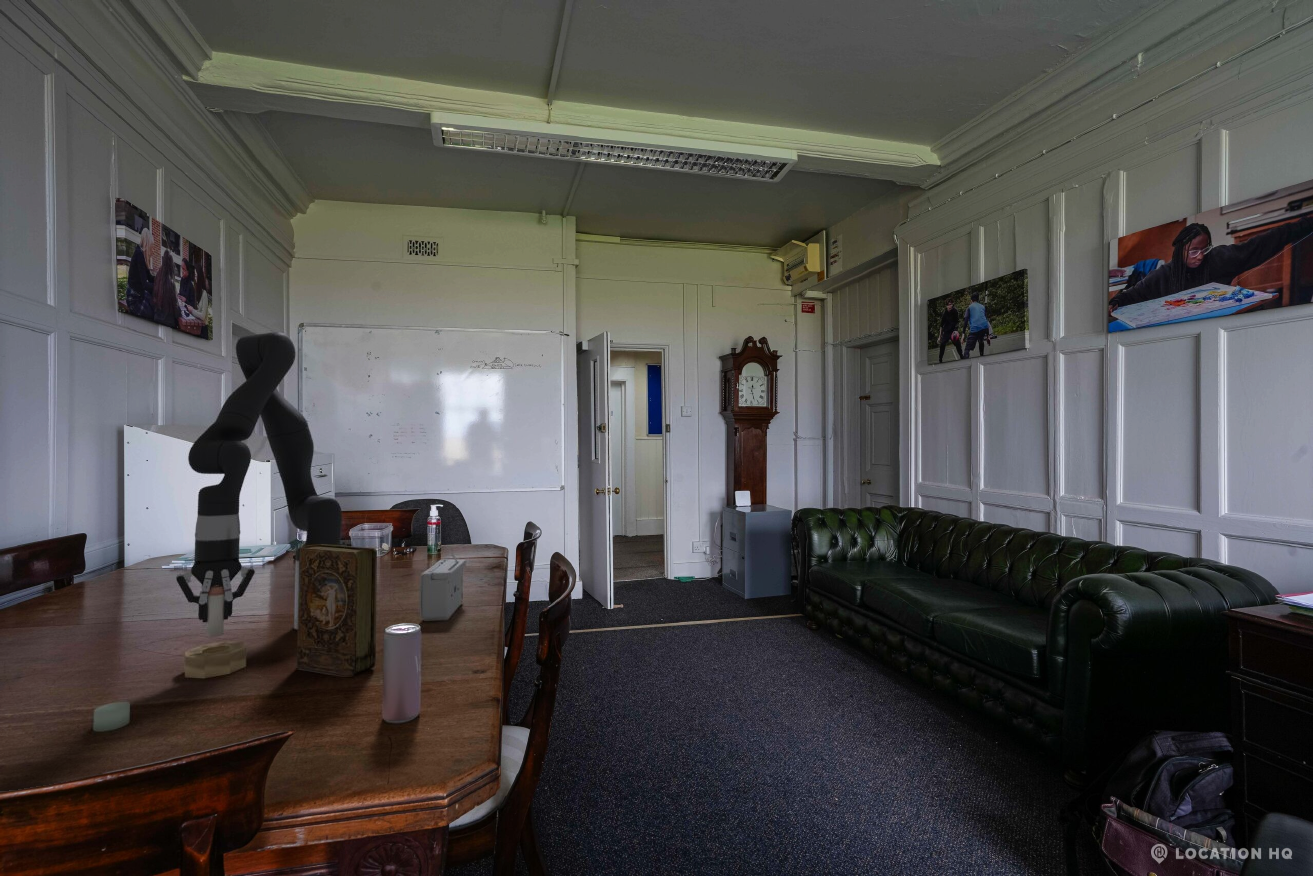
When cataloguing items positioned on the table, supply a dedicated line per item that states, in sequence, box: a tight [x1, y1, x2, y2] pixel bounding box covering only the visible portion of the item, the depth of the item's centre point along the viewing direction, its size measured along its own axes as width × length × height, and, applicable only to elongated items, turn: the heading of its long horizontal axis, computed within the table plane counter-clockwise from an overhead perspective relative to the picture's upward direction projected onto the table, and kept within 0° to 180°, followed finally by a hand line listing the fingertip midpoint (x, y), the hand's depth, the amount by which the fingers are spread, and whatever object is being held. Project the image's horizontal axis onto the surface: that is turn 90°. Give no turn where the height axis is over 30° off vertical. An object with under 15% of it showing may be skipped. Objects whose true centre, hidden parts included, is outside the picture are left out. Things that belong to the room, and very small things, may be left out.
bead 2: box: [184, 641, 247, 679], centre depth 125 cm, size 10×10×4 cm
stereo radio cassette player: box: [419, 545, 467, 622], centre depth 171 cm, size 21×8×20 cm, turn 6°
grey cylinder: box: [205, 585, 225, 638], centre depth 125 cm, size 3×3×10 cm
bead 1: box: [92, 701, 131, 732], centre depth 100 cm, size 4×4×3 cm
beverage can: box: [381, 623, 422, 724], centre depth 104 cm, size 6×6×15 cm
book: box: [296, 544, 378, 678], centre depth 126 cm, size 16×6×25 cm, turn 71°
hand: (215, 619), depth 125 cm, fingers closed on grey cylinder, 3 cm apart
